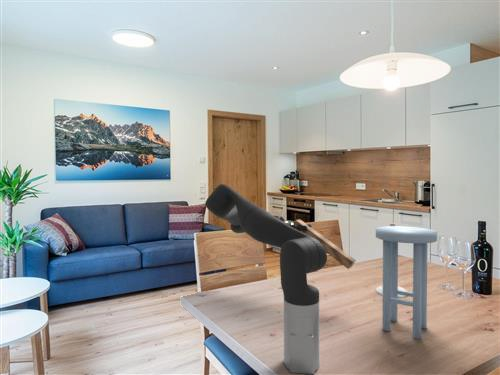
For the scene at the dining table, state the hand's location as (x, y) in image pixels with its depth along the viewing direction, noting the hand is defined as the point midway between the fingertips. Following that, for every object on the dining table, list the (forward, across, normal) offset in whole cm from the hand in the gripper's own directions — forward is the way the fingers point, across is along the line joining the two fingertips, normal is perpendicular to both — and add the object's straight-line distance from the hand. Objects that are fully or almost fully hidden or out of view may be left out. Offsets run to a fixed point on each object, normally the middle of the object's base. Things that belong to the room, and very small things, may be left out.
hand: (308, 228), depth 131 cm
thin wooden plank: (+5, 0, -6) cm, 8 cm away
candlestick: (+23, -33, -30) cm, 50 cm away
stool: (+35, +1, -30) cm, 46 cm away
